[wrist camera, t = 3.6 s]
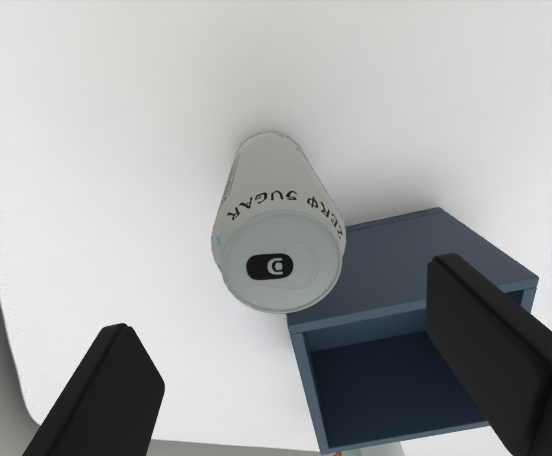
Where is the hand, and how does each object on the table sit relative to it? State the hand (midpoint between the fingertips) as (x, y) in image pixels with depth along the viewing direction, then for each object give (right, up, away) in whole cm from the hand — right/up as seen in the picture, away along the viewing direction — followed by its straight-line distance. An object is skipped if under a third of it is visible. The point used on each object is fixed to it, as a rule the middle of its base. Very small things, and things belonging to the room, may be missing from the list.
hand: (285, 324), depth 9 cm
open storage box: (+9, -3, +22) cm, 24 cm away
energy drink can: (-1, +8, +16) cm, 18 cm away
